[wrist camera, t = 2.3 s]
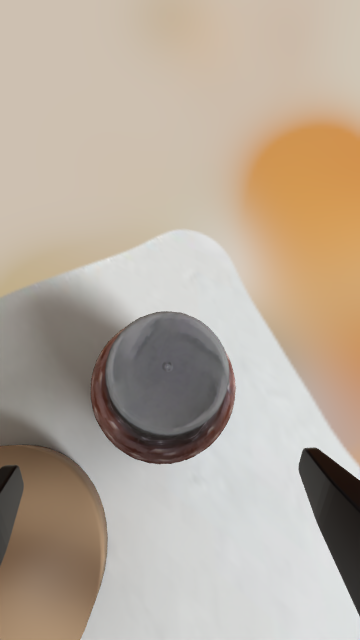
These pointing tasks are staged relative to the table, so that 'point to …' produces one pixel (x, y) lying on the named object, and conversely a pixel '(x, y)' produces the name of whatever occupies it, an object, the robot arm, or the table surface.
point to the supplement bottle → (163, 388)
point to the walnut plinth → (51, 548)
